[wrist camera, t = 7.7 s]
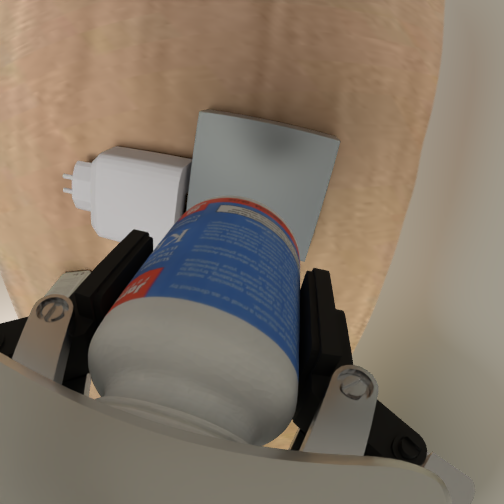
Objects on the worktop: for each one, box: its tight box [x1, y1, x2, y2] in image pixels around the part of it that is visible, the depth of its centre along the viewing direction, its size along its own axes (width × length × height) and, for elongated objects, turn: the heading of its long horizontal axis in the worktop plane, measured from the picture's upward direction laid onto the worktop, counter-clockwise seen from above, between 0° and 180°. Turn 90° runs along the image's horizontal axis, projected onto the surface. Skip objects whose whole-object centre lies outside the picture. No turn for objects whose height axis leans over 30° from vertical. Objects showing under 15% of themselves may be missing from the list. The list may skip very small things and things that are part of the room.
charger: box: [63, 146, 192, 251], centre depth 29 cm, size 5×9×15 cm
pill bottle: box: [88, 196, 300, 446], centre depth 8 cm, size 6×5×10 cm
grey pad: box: [186, 109, 340, 262], centre depth 28 cm, size 12×12×3 cm
